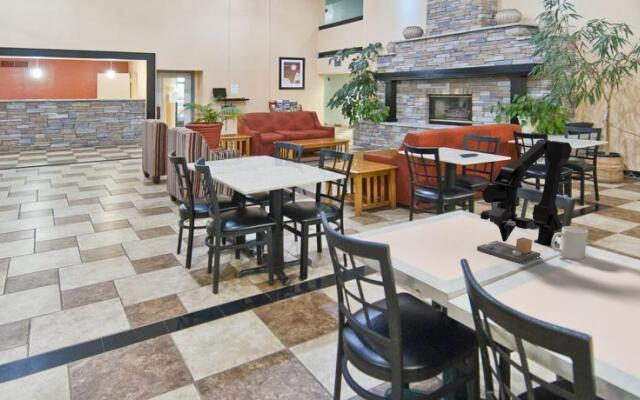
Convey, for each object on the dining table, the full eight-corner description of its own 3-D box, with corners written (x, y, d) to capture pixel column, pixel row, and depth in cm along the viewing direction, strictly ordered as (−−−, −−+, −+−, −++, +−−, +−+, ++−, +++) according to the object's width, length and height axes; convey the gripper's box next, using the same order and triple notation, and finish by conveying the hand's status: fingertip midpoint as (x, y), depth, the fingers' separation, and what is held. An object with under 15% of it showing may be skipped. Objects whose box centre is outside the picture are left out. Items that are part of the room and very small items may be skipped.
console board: (496, 244, 191) (496, 236, 190) (539, 257, 177) (540, 249, 176) (476, 250, 184) (477, 242, 183) (521, 263, 170) (522, 255, 169)
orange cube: (521, 248, 180) (523, 237, 179) (531, 251, 177) (532, 239, 176) (515, 251, 177) (516, 239, 176) (524, 253, 175) (526, 241, 174)
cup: (589, 260, 174) (592, 232, 172) (555, 260, 174) (558, 232, 171) (576, 252, 182) (580, 226, 180) (544, 252, 182) (547, 225, 180)
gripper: (473, 198, 182) (470, 239, 185) (519, 208, 167) (515, 252, 171) (490, 194, 188) (487, 234, 192) (537, 204, 174) (532, 246, 177)
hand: (504, 241), depth 183 cm, fingers closed
